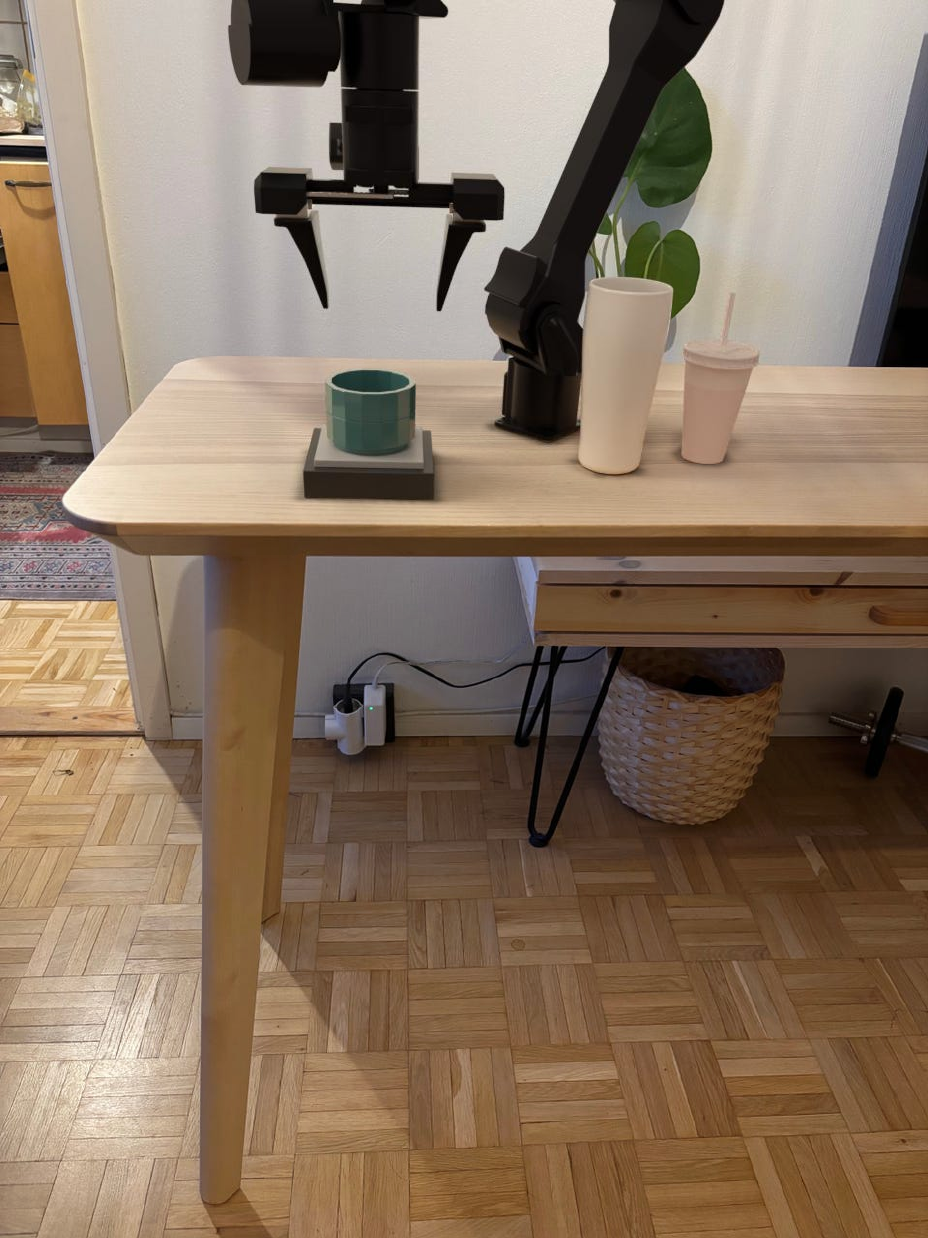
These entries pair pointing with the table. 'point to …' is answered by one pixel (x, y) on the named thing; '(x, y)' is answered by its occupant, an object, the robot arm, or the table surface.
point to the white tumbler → (620, 368)
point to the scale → (369, 470)
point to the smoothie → (714, 392)
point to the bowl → (370, 410)
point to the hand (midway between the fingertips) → (382, 308)
